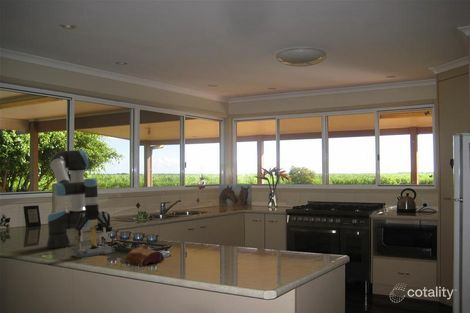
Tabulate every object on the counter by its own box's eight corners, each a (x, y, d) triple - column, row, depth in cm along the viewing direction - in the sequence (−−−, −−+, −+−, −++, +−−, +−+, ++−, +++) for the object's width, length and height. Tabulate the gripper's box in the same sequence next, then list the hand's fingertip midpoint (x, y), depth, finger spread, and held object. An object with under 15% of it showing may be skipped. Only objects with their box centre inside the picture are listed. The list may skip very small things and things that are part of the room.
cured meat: (145, 255, 257) (144, 243, 257) (171, 260, 239) (170, 247, 239) (116, 262, 244) (115, 249, 244) (142, 267, 226) (141, 254, 226)
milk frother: (106, 230, 378) (105, 212, 379) (88, 231, 379) (87, 213, 379) (111, 227, 393) (110, 210, 393) (93, 228, 393) (92, 211, 393)
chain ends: (73, 255, 268) (72, 249, 268) (110, 250, 279) (110, 244, 280) (76, 258, 259) (76, 251, 259) (115, 252, 271) (114, 246, 271)
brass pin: (90, 254, 270) (89, 227, 270) (96, 253, 272) (94, 226, 272) (92, 254, 267) (90, 227, 268) (97, 253, 269) (96, 227, 269)
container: (110, 247, 291) (109, 226, 291) (99, 247, 292) (98, 227, 293) (116, 244, 298) (115, 225, 299) (105, 245, 300) (104, 225, 300)
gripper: (71, 206, 260) (72, 243, 260) (114, 202, 273) (116, 237, 273) (68, 205, 267) (70, 241, 267) (110, 202, 280) (112, 236, 279)
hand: (93, 239), depth 270 cm, fingers open, 13 cm apart
